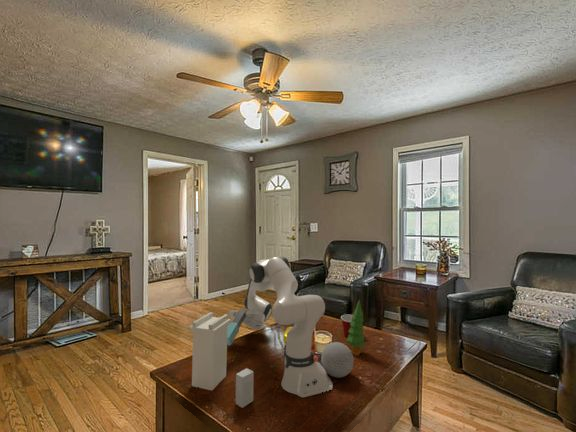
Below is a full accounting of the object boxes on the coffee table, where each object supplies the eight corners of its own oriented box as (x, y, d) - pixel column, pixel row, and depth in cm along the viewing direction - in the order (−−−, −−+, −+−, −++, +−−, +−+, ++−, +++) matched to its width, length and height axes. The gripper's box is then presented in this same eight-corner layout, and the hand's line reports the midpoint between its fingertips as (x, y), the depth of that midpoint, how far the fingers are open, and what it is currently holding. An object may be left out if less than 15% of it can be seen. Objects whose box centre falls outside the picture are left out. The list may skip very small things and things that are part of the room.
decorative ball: (353, 370, 144) (355, 339, 144) (351, 387, 130) (353, 353, 130) (323, 365, 148) (324, 335, 148) (317, 380, 134) (319, 347, 134)
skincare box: (246, 396, 121) (246, 367, 121) (253, 401, 118) (254, 371, 118) (234, 403, 116) (235, 373, 116) (242, 408, 114) (242, 377, 114)
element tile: (307, 345, 171) (308, 337, 171) (282, 342, 174) (282, 334, 174) (310, 335, 186) (311, 327, 186) (287, 332, 189) (287, 325, 189)
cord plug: (240, 313, 166) (238, 306, 164) (248, 314, 164) (247, 307, 162) (221, 343, 146) (219, 336, 144) (230, 345, 145) (228, 337, 143)
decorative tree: (365, 357, 158) (367, 301, 157) (348, 356, 158) (349, 300, 158) (361, 349, 167) (363, 296, 167) (344, 348, 168) (346, 295, 167)
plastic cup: (339, 338, 181) (339, 319, 181) (341, 331, 191) (341, 313, 191) (357, 341, 178) (357, 321, 178) (358, 334, 188) (358, 315, 188)
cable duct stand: (206, 370, 140) (208, 311, 140) (229, 375, 137) (230, 315, 137) (188, 386, 127) (189, 321, 127) (212, 392, 123) (214, 325, 123)
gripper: (235, 311, 178) (226, 305, 166) (267, 315, 172) (260, 309, 160) (233, 321, 175) (223, 316, 163) (265, 326, 169) (257, 321, 157)
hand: (241, 313), depth 162 cm, fingers closed on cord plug, 3 cm apart
